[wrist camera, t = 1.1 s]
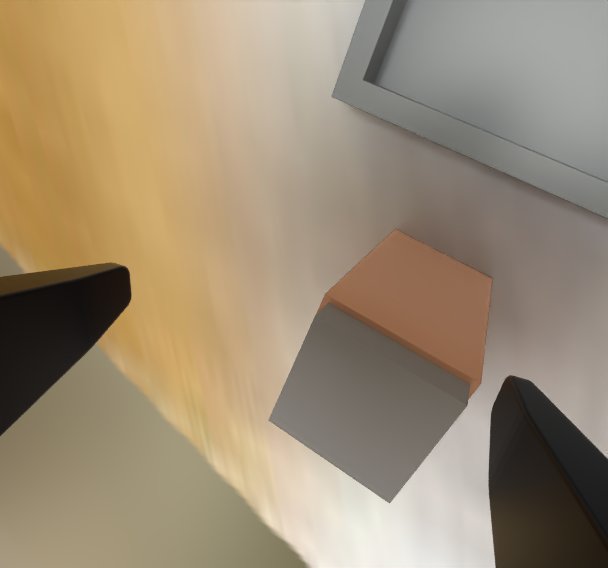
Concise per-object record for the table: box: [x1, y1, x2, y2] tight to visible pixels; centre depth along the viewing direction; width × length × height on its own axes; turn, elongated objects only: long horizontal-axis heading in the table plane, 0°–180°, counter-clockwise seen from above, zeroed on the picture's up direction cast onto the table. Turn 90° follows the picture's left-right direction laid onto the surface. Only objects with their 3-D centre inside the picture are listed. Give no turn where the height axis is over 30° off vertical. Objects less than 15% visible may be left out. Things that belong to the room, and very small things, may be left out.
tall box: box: [269, 229, 492, 503], centre depth 16 cm, size 5×5×10 cm
